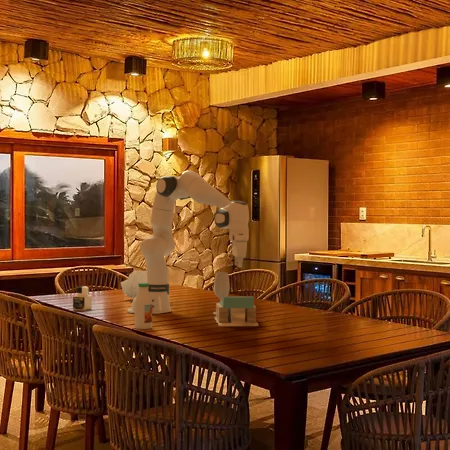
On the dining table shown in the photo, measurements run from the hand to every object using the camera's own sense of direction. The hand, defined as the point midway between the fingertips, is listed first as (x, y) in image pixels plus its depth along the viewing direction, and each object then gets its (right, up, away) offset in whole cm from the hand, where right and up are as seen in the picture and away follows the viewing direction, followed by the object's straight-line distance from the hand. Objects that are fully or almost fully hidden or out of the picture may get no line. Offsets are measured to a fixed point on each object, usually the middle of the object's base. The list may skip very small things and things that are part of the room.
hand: (238, 266), depth 307 cm
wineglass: (-8, -26, +32) cm, 43 cm away
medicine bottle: (-81, -25, +45) cm, 96 cm away
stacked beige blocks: (-1, -27, +8) cm, 28 cm away
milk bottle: (-42, -27, -10) cm, 51 cm away
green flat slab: (-1, -19, +6) cm, 20 cm away
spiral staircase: (-53, -25, +80) cm, 99 cm away
